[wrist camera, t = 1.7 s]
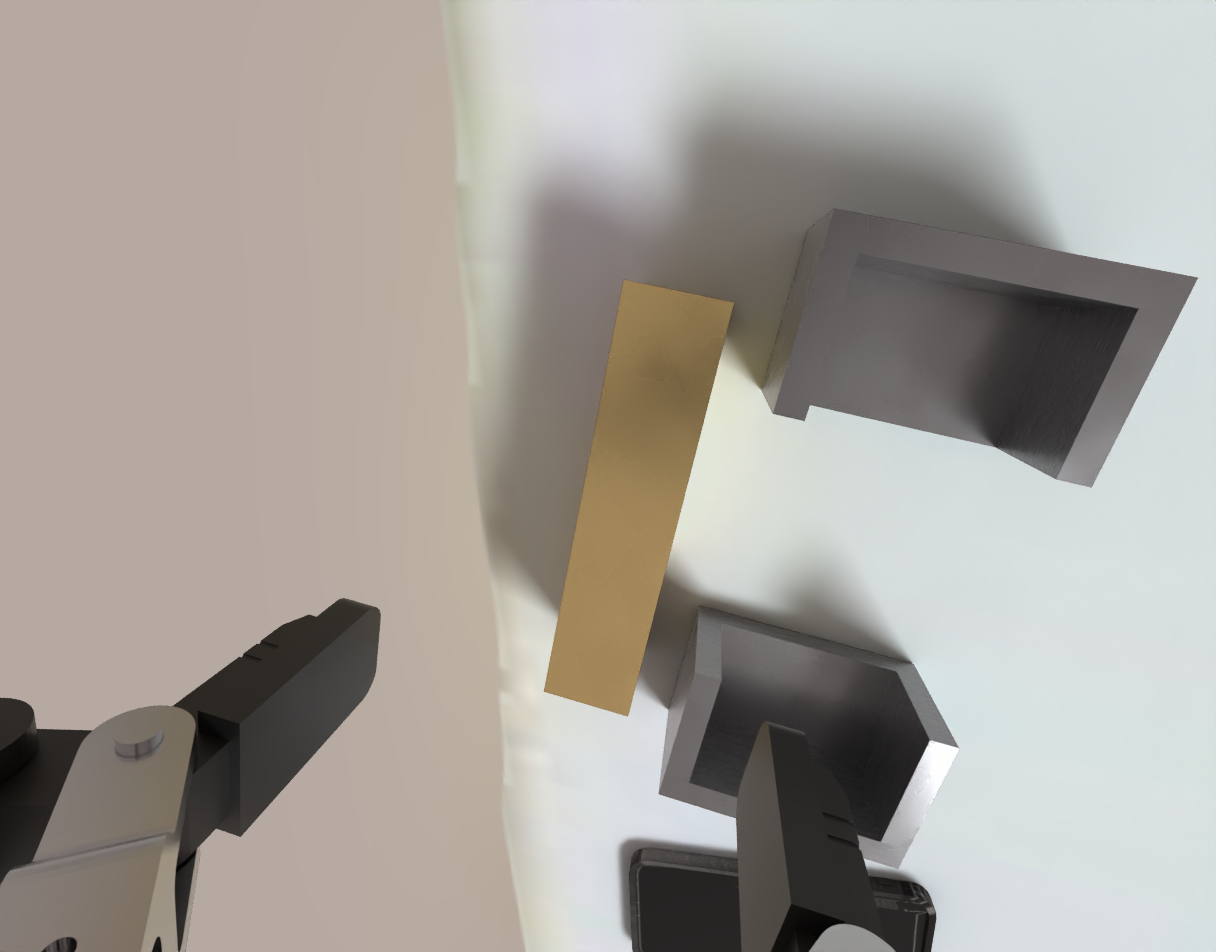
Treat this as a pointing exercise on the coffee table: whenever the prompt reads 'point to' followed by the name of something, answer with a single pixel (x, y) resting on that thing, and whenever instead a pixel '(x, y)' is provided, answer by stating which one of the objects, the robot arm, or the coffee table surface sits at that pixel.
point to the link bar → (634, 488)
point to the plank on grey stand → (929, 401)
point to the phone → (710, 906)
